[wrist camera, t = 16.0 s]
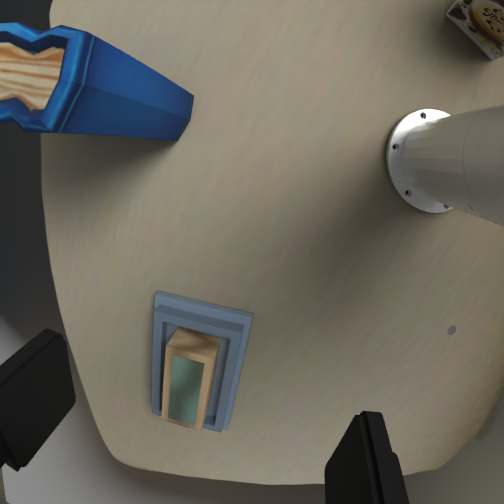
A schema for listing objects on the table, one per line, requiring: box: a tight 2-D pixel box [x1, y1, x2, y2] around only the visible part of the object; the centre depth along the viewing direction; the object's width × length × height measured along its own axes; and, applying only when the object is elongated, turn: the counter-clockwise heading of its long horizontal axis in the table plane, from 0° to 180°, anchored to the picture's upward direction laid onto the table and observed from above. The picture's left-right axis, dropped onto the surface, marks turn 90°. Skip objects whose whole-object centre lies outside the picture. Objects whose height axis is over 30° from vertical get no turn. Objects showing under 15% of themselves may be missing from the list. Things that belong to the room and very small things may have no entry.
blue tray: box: [152, 291, 253, 432], centre depth 43 cm, size 13×22×3 cm, turn 169°
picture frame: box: [162, 327, 222, 431], centre depth 41 cm, size 6×14×5 cm, turn 168°
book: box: [0, 22, 194, 141], centre depth 23 cm, size 22×7×25 cm, turn 69°
